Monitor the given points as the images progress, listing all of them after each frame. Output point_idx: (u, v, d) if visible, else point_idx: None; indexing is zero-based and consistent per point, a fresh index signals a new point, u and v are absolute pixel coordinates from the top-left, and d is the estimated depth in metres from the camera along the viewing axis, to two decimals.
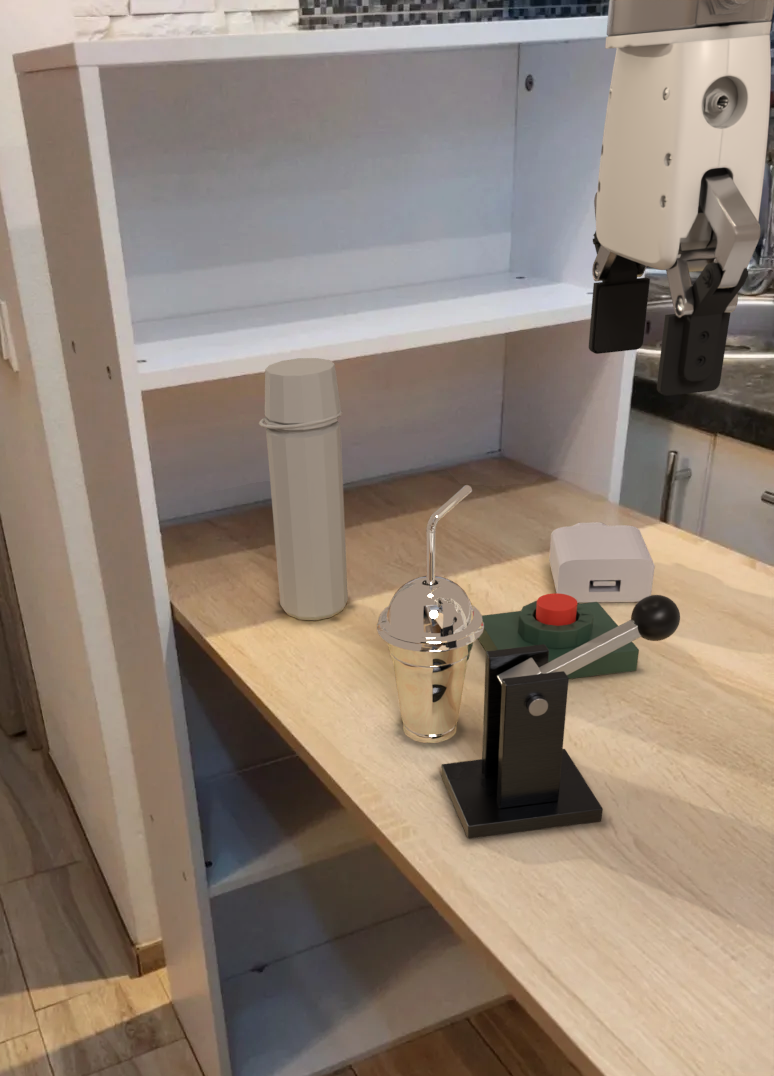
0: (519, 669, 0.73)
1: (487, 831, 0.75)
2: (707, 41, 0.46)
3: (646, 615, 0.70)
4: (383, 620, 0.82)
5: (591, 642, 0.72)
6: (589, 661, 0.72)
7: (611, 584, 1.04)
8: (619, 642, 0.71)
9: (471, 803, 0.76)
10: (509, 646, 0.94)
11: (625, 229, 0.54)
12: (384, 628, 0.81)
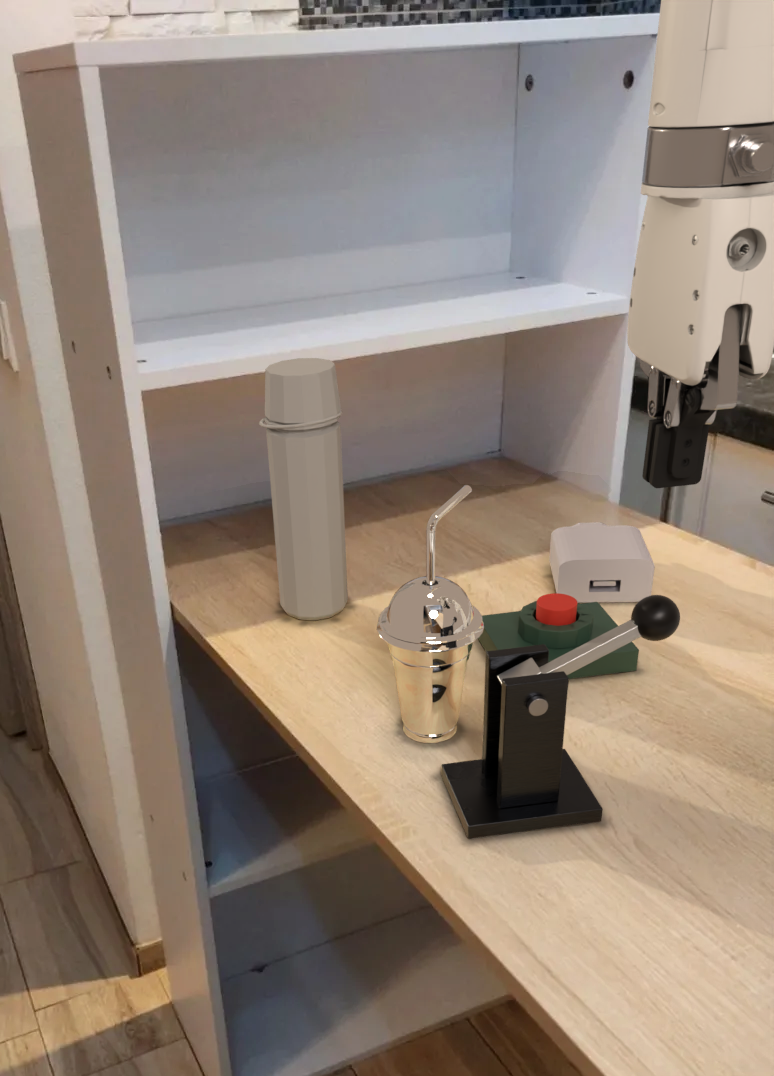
0: (519, 669, 0.73)
1: (487, 831, 0.75)
2: (732, 199, 0.54)
3: (646, 615, 0.70)
4: (383, 620, 0.82)
5: (591, 642, 0.72)
6: (589, 661, 0.72)
7: (611, 584, 1.04)
8: (619, 642, 0.71)
9: (471, 803, 0.76)
10: (509, 646, 0.94)
11: (655, 345, 0.61)
12: (384, 628, 0.81)
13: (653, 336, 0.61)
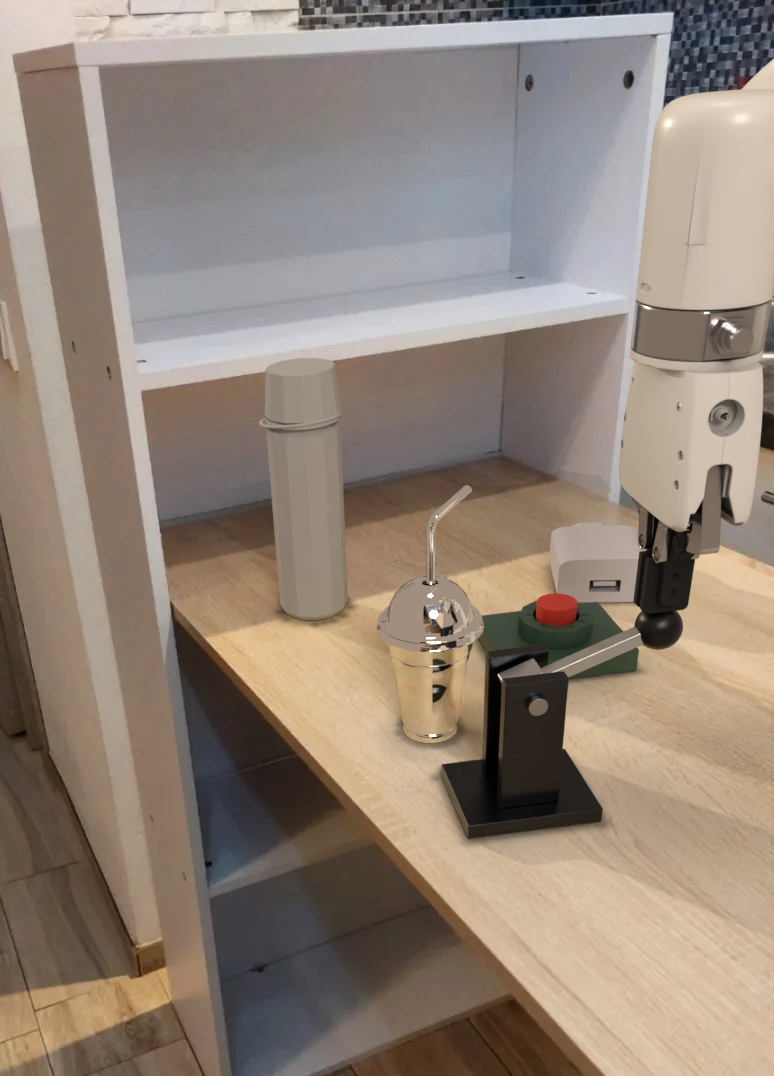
0: (520, 669, 0.73)
1: (487, 831, 0.75)
2: (712, 374, 0.58)
3: (650, 623, 0.71)
4: (383, 620, 0.82)
5: (593, 646, 0.72)
6: (590, 665, 0.72)
7: (611, 584, 1.04)
8: (621, 648, 0.72)
9: (471, 803, 0.76)
10: (509, 646, 0.94)
11: (644, 489, 0.66)
12: (384, 628, 0.81)
13: (642, 481, 0.66)
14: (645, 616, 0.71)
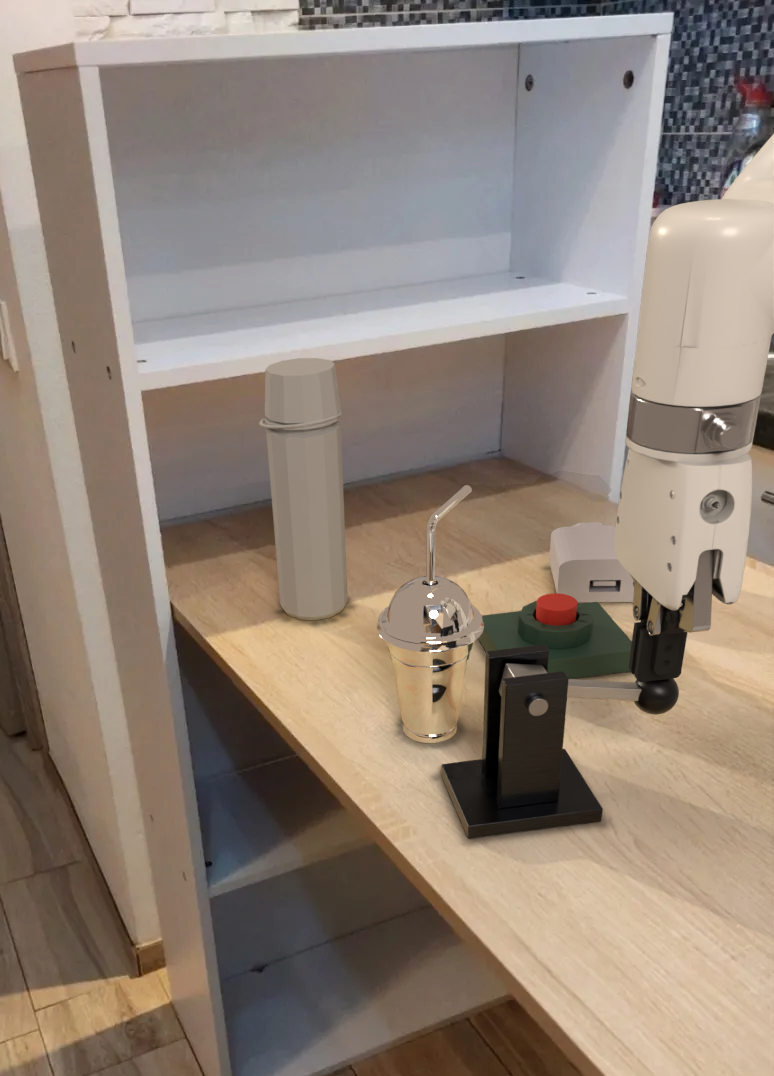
0: (529, 668, 0.73)
1: (487, 831, 0.75)
2: (704, 466, 0.61)
3: (656, 684, 0.73)
4: (383, 620, 0.82)
5: (597, 681, 0.74)
6: (588, 696, 0.74)
7: (611, 584, 1.04)
8: (620, 695, 0.74)
9: (471, 803, 0.76)
10: (509, 646, 0.94)
11: (639, 566, 0.69)
12: (384, 628, 0.81)
13: (637, 558, 0.69)
14: None
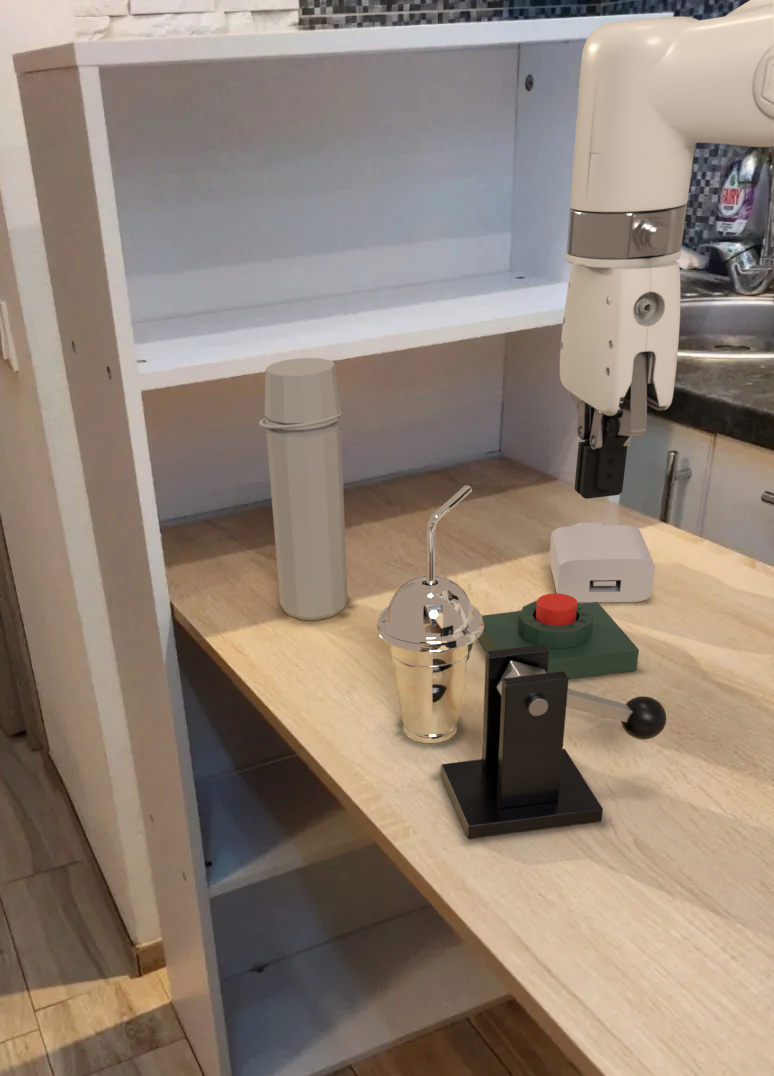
0: (532, 669, 0.73)
1: (487, 831, 0.75)
2: (636, 269, 0.67)
3: (647, 709, 0.74)
4: (383, 620, 0.82)
5: (592, 696, 0.75)
6: (582, 708, 0.74)
7: (611, 584, 1.04)
8: (611, 713, 0.74)
9: (471, 803, 0.76)
10: (509, 646, 0.94)
11: (581, 382, 0.75)
12: (384, 628, 0.81)
13: (579, 374, 0.75)
14: (646, 701, 0.75)
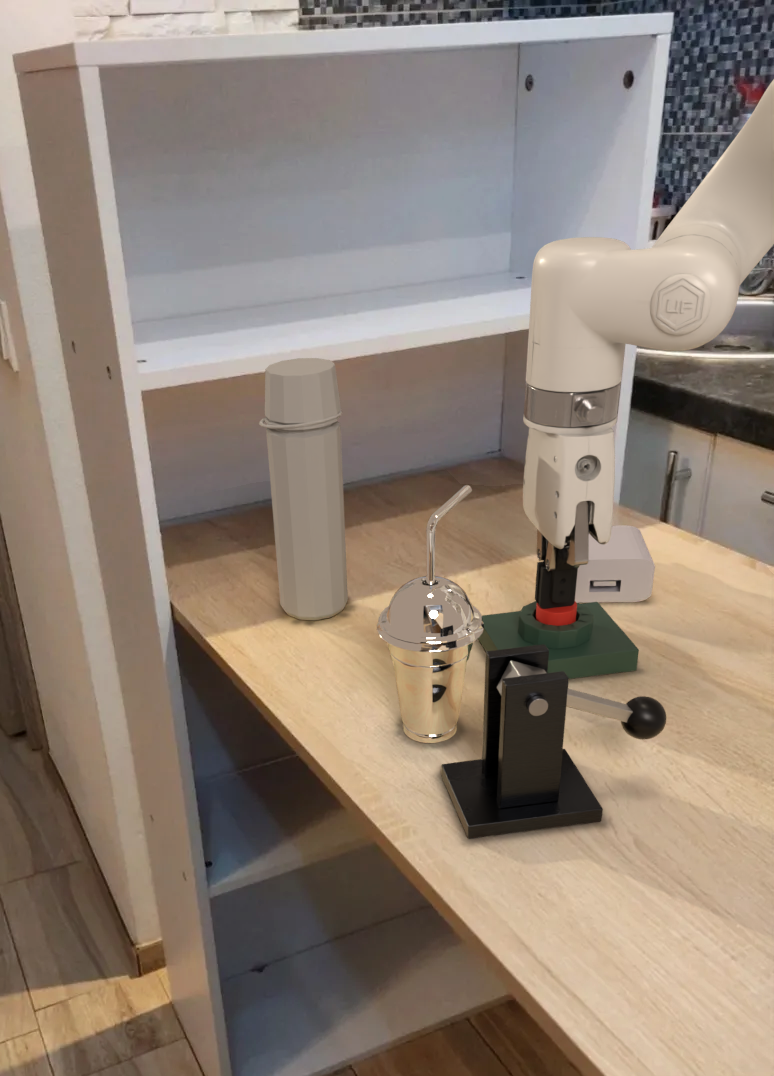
0: (532, 669, 0.73)
1: (487, 831, 0.75)
2: (576, 437, 0.82)
3: (647, 709, 0.74)
4: (383, 620, 0.82)
5: (592, 696, 0.75)
6: (582, 708, 0.74)
7: (611, 584, 1.04)
8: (611, 713, 0.74)
9: (471, 803, 0.76)
10: (509, 646, 0.94)
11: (537, 516, 0.89)
12: (384, 628, 0.81)
13: (536, 510, 0.89)
14: (646, 701, 0.75)
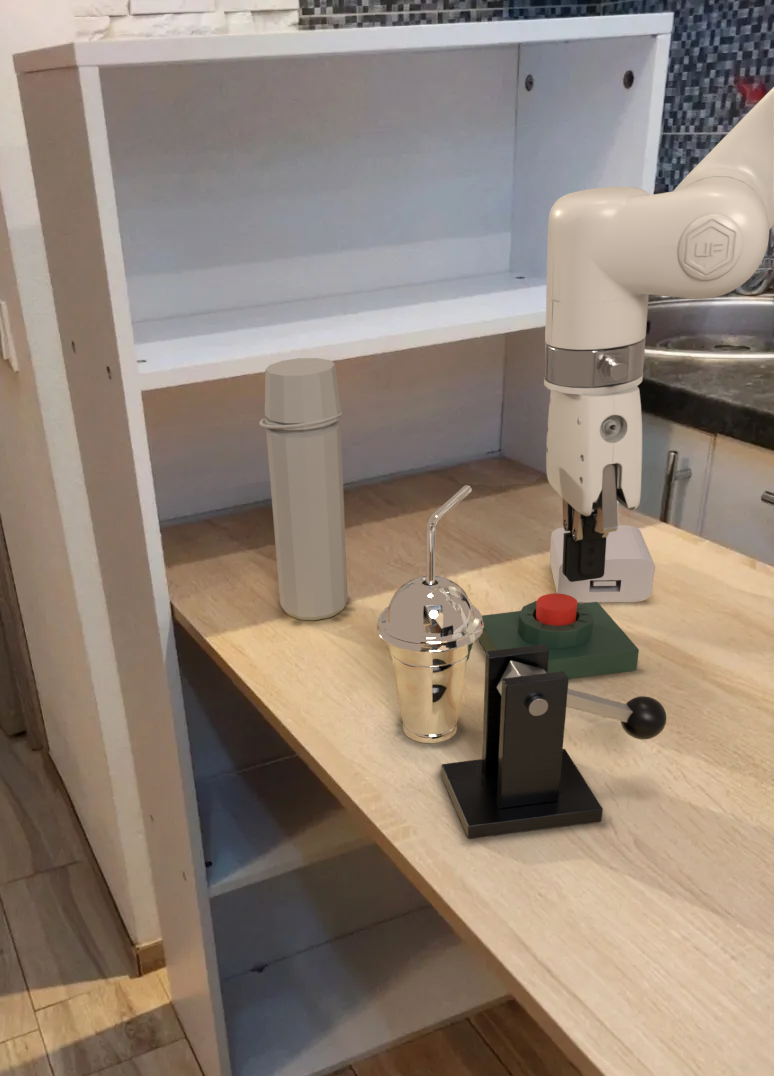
0: (532, 669, 0.73)
1: (487, 831, 0.75)
2: (600, 396, 0.78)
3: (647, 709, 0.74)
4: (383, 620, 0.82)
5: (592, 696, 0.75)
6: (582, 708, 0.74)
7: (611, 584, 1.04)
8: (611, 713, 0.74)
9: (471, 803, 0.76)
10: (509, 646, 0.94)
11: (562, 484, 0.86)
12: (384, 628, 0.81)
13: (560, 478, 0.86)
14: (646, 701, 0.75)
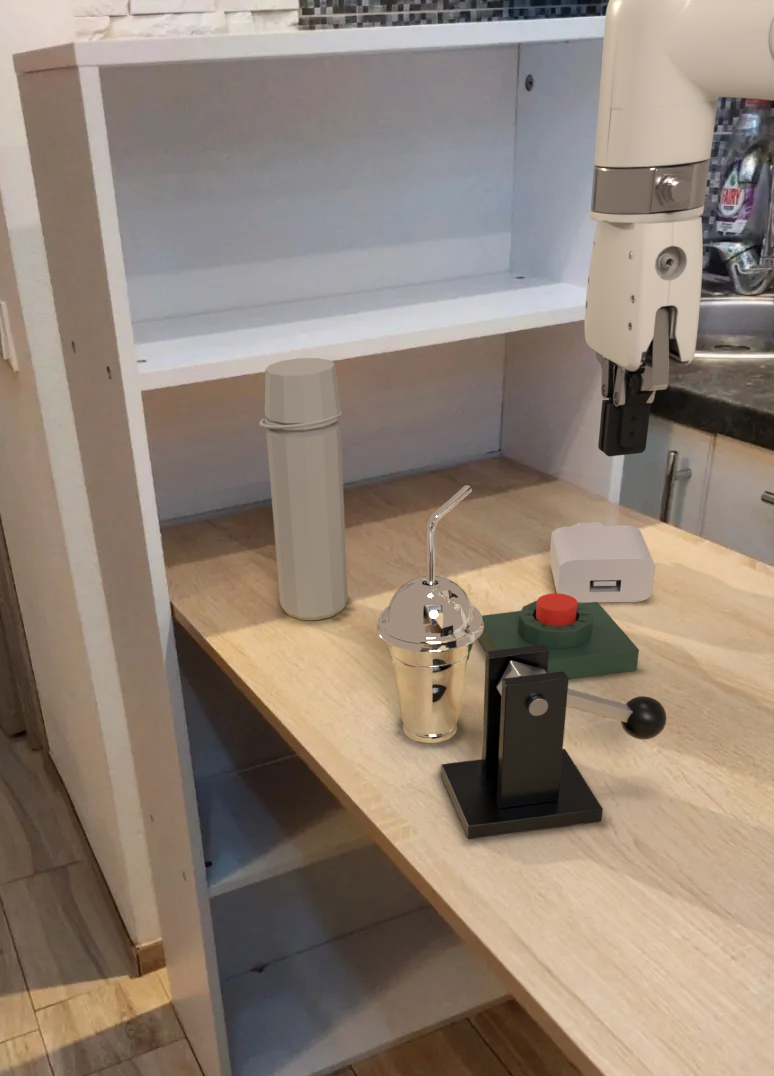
0: (532, 669, 0.73)
1: (487, 831, 0.75)
2: (658, 223, 0.68)
3: (647, 709, 0.74)
4: (383, 620, 0.82)
5: (592, 696, 0.75)
6: (582, 708, 0.74)
7: (611, 584, 1.04)
8: (611, 713, 0.74)
9: (471, 803, 0.76)
10: (509, 646, 0.94)
11: (604, 339, 0.76)
12: (384, 628, 0.81)
13: (603, 332, 0.76)
14: (646, 701, 0.75)
